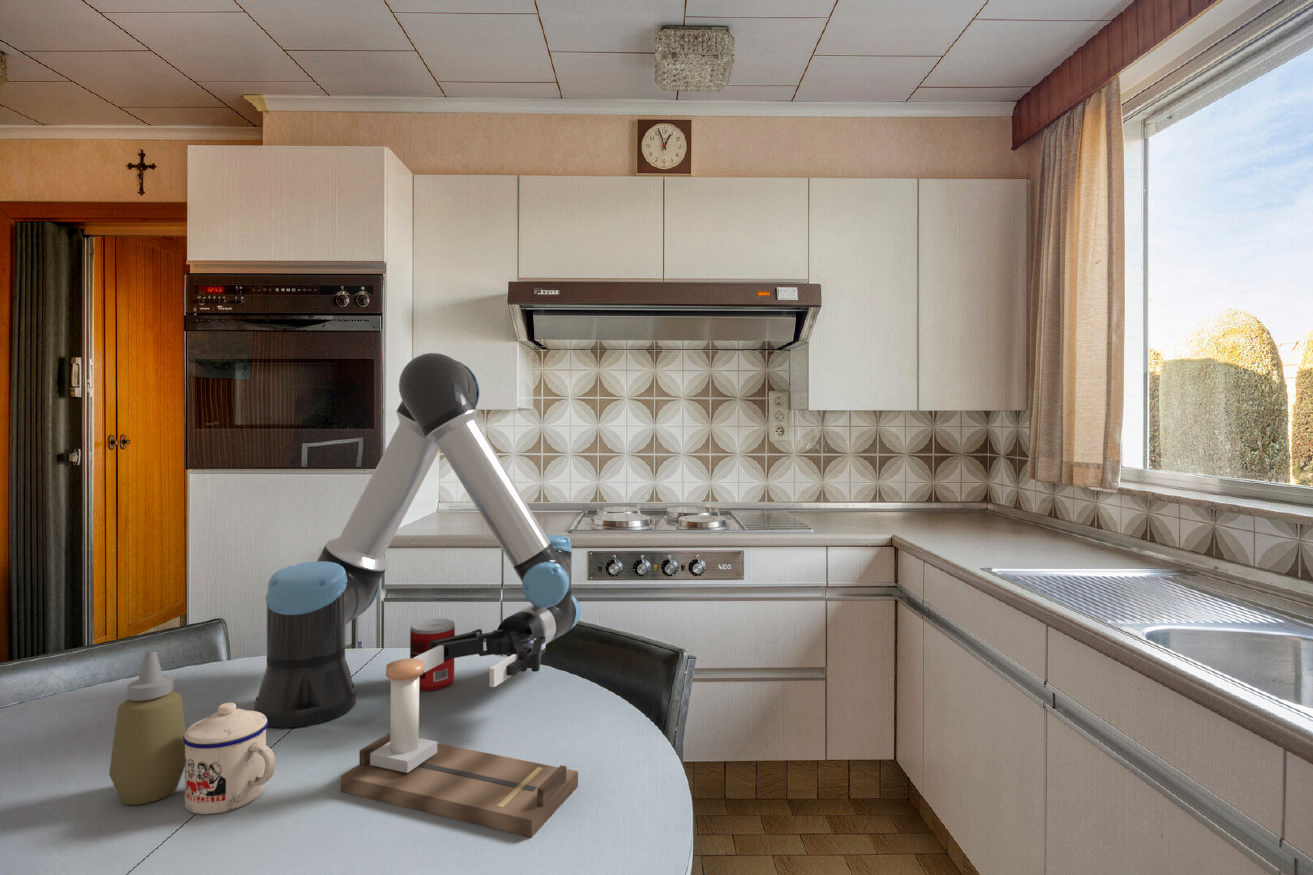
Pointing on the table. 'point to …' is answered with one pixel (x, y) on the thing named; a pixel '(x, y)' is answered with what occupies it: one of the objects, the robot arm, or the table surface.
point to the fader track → (468, 787)
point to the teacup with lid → (226, 760)
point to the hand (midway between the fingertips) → (452, 672)
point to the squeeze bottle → (148, 737)
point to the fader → (404, 720)
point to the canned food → (420, 644)
